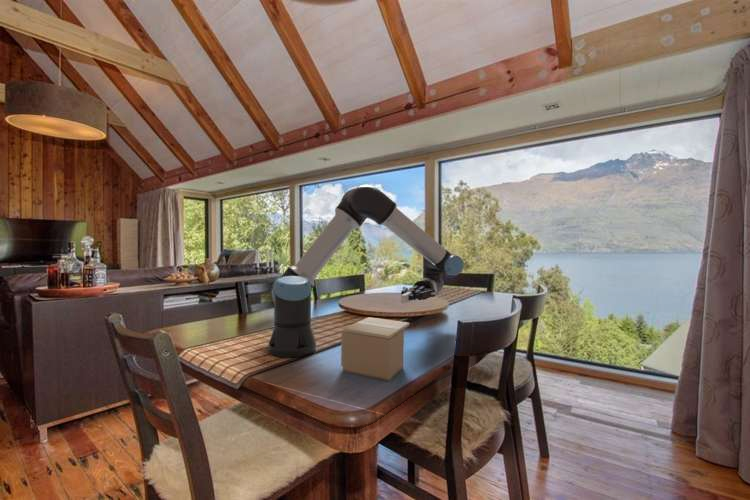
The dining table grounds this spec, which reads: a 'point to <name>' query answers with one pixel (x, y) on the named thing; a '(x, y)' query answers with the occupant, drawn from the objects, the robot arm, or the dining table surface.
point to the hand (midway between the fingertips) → (403, 299)
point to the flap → (377, 327)
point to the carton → (372, 355)
